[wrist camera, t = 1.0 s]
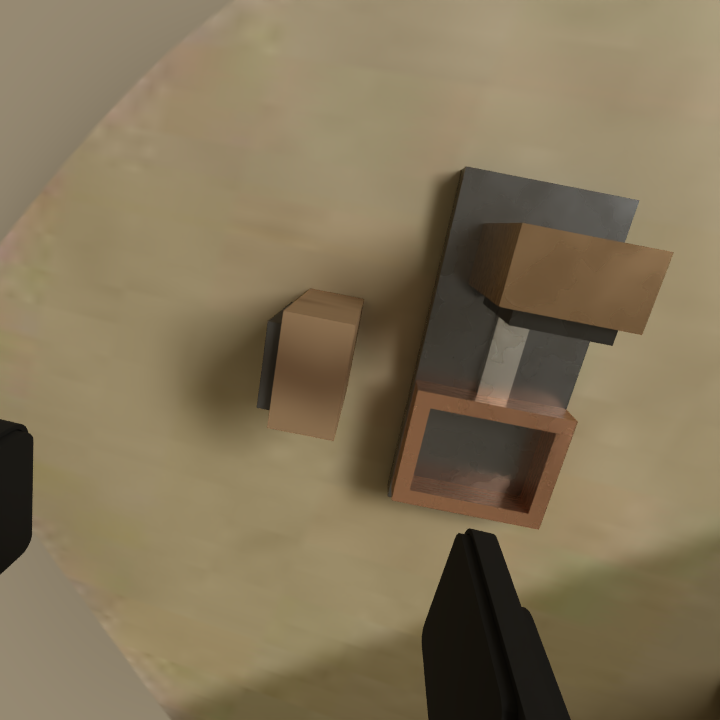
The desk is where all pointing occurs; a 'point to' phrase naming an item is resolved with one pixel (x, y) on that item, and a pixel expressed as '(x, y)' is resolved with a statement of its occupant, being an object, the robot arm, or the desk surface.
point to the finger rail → (515, 341)
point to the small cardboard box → (309, 363)
